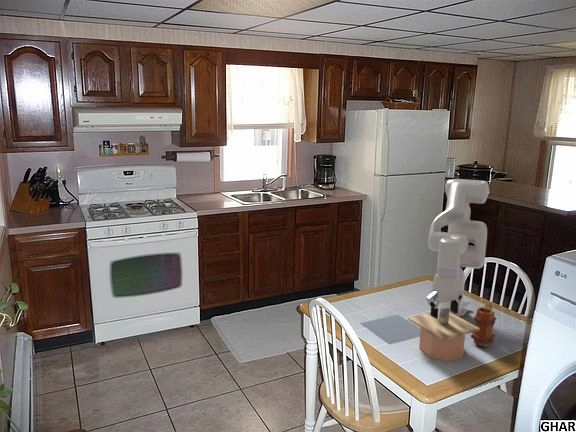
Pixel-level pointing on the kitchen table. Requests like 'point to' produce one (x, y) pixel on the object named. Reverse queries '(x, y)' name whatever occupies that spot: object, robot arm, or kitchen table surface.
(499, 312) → the kitchen table surface
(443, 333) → the lid
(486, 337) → the mug
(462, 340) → the bowl
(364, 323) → the mat
